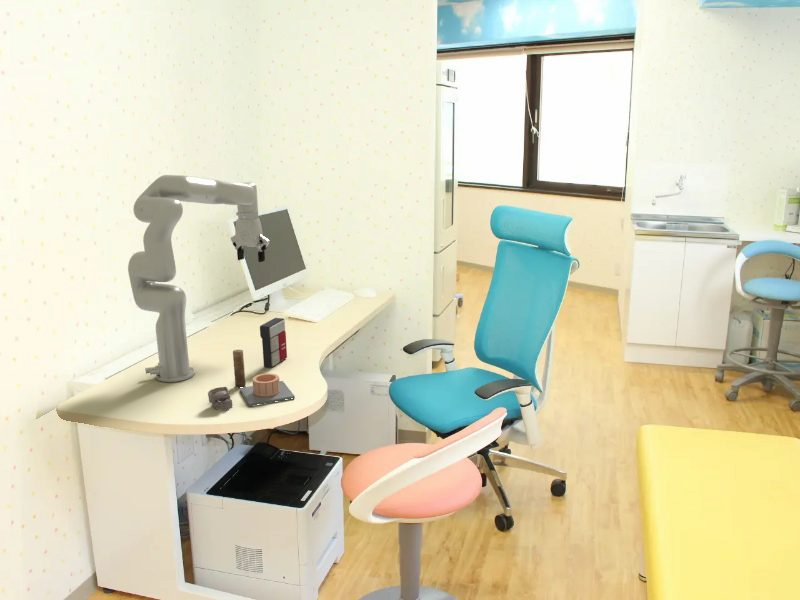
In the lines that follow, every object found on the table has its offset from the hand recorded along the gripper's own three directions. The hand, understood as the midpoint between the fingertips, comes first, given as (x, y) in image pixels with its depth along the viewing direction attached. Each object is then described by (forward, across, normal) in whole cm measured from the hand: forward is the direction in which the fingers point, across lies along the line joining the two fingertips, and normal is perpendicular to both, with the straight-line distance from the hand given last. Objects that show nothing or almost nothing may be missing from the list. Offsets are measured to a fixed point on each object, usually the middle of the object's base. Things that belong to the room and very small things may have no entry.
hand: (251, 260), depth 271 cm
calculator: (+31, +23, -20) cm, 44 cm away
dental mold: (+32, +30, -59) cm, 73 cm away
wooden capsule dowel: (+31, +26, -44) cm, 60 cm away
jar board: (+31, +38, -46) cm, 68 cm away
